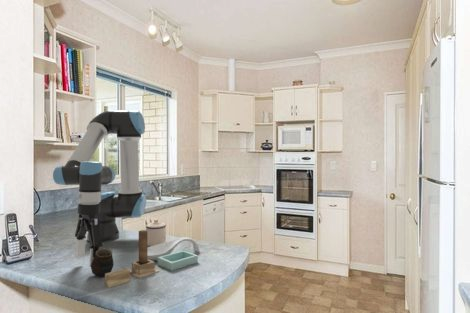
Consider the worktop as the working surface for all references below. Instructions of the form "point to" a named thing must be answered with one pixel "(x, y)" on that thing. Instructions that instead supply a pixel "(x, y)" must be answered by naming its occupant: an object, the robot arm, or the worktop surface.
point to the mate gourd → (102, 262)
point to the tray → (177, 260)
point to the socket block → (143, 269)
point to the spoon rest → (168, 248)
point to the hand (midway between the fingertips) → (86, 261)
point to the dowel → (143, 247)
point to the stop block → (117, 277)
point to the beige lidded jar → (155, 233)
